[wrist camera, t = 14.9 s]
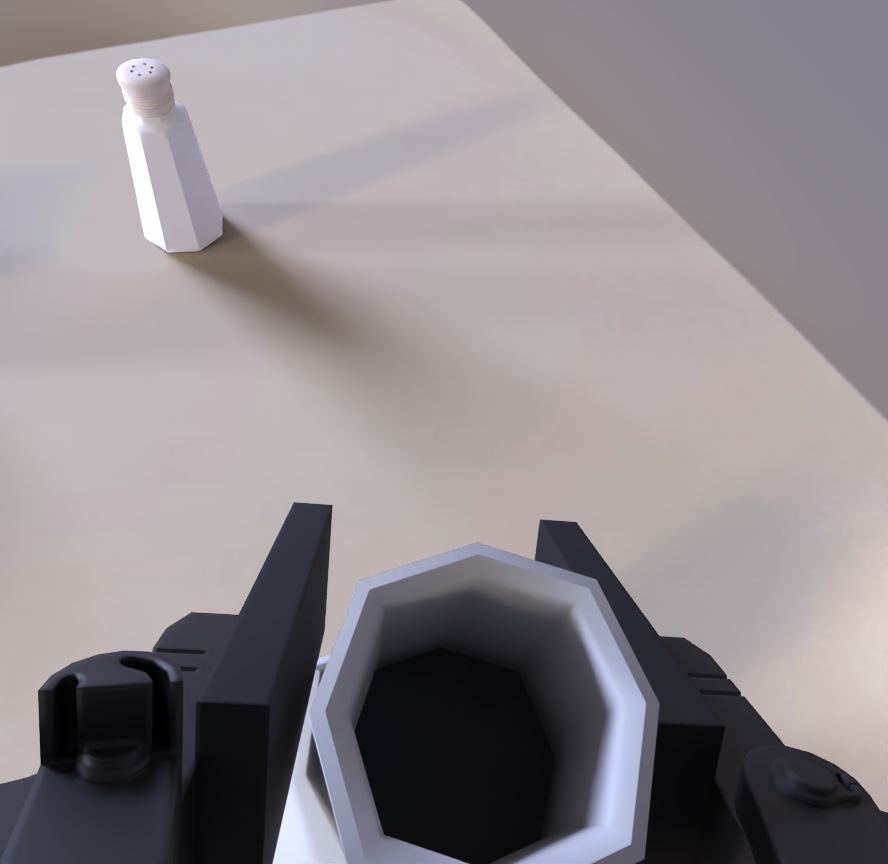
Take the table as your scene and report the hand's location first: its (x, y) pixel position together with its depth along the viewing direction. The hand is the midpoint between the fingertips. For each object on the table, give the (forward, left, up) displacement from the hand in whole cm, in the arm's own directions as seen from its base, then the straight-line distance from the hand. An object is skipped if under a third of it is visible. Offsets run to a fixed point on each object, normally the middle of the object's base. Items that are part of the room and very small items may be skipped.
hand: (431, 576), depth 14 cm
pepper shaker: (+26, -24, -20) cm, 41 cm away
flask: (-1, +4, -3) cm, 5 cm away
